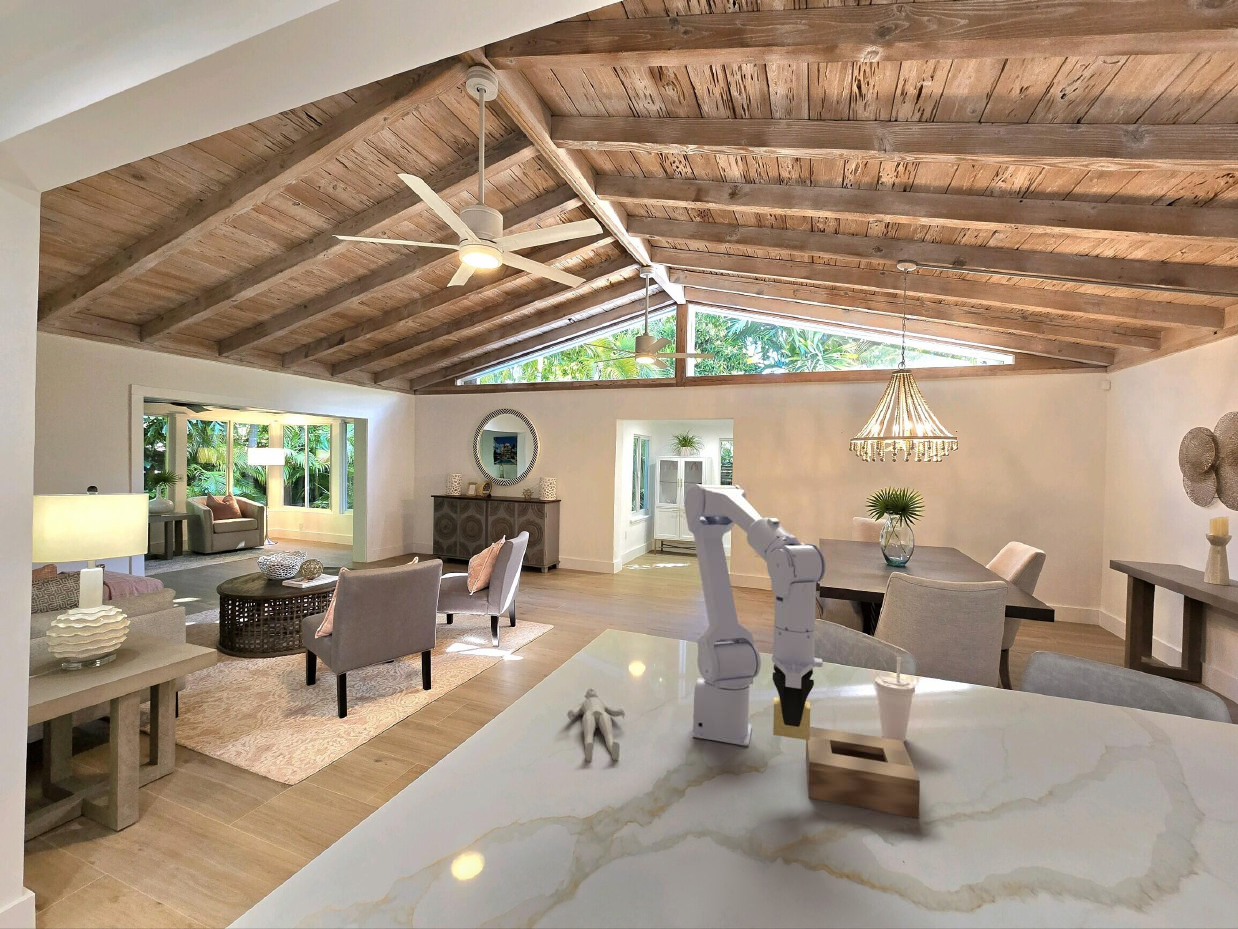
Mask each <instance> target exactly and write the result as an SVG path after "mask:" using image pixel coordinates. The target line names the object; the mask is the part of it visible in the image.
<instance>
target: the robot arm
mask: <svg viewBox="0 0 1238 929" xmlns="http://www.w3.org/2000/svg"><path fill="white" fill-rule="evenodd" d="M685 493H686V494H685V497H684V502H683V504H684V506H683V507H684V511H685V517H686V524H687V528H688V531H689V533H692V534H693V538H694V544H695V551H696V557H697V562H698V563H697V564H698V566H699V574H700V578H701V585H702V590H703V591H702V592H703V597H704V603H705V610H706V616H707V620H708V621H707V622H708V625H709V626H708V627H707V628H706V629H704V630H705V631H704V632H702V634H701V635H700V636H699V637H698V638H697V658H696V659H697V668H698V671H699V673H700V676H701V677H697V678H696V680H695V685H694V696H693V714H692V715H693V716H692V717H693V718H692V737H693V738H697V739H704V740H708V741H715V742H722V743H727V744H733V745H739V746H745V747H748V746H749V745H750V739H751V734H752V729H753V728H752V727H753V726H752V724H751V723H749V712H750V711H749V710H750V708H749V707H750V685H753V684H754V679H755V678H757V677H758V676H759V674H760V671H761V667H762V659H761V655H760V652H759V649H758V647H757V646H756V643H755V640H754V637H753V634H752V632H751V631H750V630H748V629H747V628H746V627H744V626H743V625H741V624H740V623H739V620H738V615H737V614H738V613H737V611H736V610H737V609H736V604H735V600H734V594H733V589H732V588H733V587H732V584H731V579H730V574H729V573H730V572H729V569H728V563H727V558H726V554H725V547H724V542H723V538H724V535H725V534H727V533H729V532H730V531H731V530H733V527H734V526H735V524H736V525H737V526H738V527H739V528H740V529H741V530H743V531H744V532H745V533H746V541H747V544H748V545H749V547H751V549H752V550H754V551H755V552H756V553H757V555H759V557H761V559H763V561H764V562H765V563H766V568H767V572H768V576H769V578H770V581H771V591H772V594H773V595H774V613H773V614H774V615H773V616H774V621H773V622H774V623H773V648H772V649H773V651H772V652H773V653H772V654H771V662H772V663H774V664H773V670H774V671H773V672H772V681H773V684H774V686H775V689H776V691H777V693H778V698H780V702H781V709H782V716H783V721H784V724H785V725H789V726H795V727H799V726H800V723H801V719H802V715H803V710H804V705H805V702H807V699H808V696H809V694H810V692H811V691H812V689H813V688H814V684H815V681H814V680H815V679H811V677H812V676H813V674H814V668H815V667H816V668H823V665H824V664H823V662H824V661H823V659H822V658H819V657H815V638H816V637H815V634H816V605H817V604H816V602H817V600H816V597H817V596H816V595H817V584H819V583H820V582H821V581H822V580H823V579H824V577H825V574H826V568H827V567H826V558H825V556H824V554H823V552H822V551H821V549H820V548H819V547H818V546H817V544H814V543H804V542H800V541H799V540H798V538H797V537H796V536H795V535H794V534H791V533H790V532H789V531H788V530H787V529H785V528H784V526H782V525H781V524H780V523H781V522H780V520H779V519H777V518H776V517H762V516H761V515H760V514H759V513H758V512H757V510H756V509H755V508H754V507H753V506H752V505H751V504H750V503H749V502H748V500H747V497H746V496H747V495H746V491H745V490H744V489H742V488H741V487H740V485H737V484H730V485H729V484H728V485H726V484H699V483H692V484H691V485H689V487H688V489H687V491H686V492H685ZM725 642H727V643H725ZM716 643H717V644H716Z"/></svg>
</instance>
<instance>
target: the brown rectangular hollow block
mask: <svg viewBox="0 0 1238 929" xmlns="http://www.w3.org/2000/svg"><path fill="white" fill-rule="evenodd" d="M805 764H806V767H805V768H806V782H807V795H808V796H807V797H808V798H809V799H813V800H819V801H823V802H828V803H829V802H830V803H836V804H840V805H846V806H852V807H854V808H855V807H856V808H862V809H867V810H872V811H878V812H882V813H883V812H884V813H888V814H892V815H898V816H902V817H903V816H904V817H909V818H914V819H919V818H920V795H921V794H920V792H921V789H920V788H921V787H920V786H921V785H920V783H921V781H920V778H919V776H918V773H917V771H916V769H915V767H914V764H913V762H912V760H911V758H910V755H909V752H908V750H907V749H906V746H905V744H904V742H903V741H901V740H894V739H888V738H883V737H882V736H874V735H865V734H862V733H861V734H860V733H856V732H855V733H854V732H849V731H848V732H847V731H841V730H834V729H827V728H824V727H823V728H821V727H815V726H810V740H805Z"/></svg>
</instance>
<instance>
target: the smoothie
mask: <svg viewBox="0 0 1238 929" xmlns="http://www.w3.org/2000/svg"><path fill="white" fill-rule="evenodd" d="M874 686H875V687H876V689H877V690H876V693H877V698H878V699H877V702H878V709H879V710H878V712H879V719H880V730H881V737H882V736H883V737H882V738H888V739H894V740H901V741H903V743H904V742H906V738H907V733H908V732H907V731H908V725H909V720H910V714H911V707H912V703H913V702H912V701H913V694H915V693H916V685H915V684H914V682H912V681H909V680H907V679H904V678H902V677H901V657H896V676H889V675H882V676H877V677H876V678H875V682H874Z"/></svg>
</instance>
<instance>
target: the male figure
mask: <svg viewBox="0 0 1238 929" xmlns="http://www.w3.org/2000/svg"><path fill="white" fill-rule="evenodd" d="M585 698H586V699H585ZM584 699H585V700H584V701H582V702H581V703H579V704H578V705H576V707H574V709H570V710H568V712H567V714H566V715H567V717H568V719H569V720H572V719H574V718H577V717H578V716H582V719H581V720H582V722H581V726H582V729H583V733H584V734H583V737H584V744H583V746H584V749H585V751H584V756H585V761H586V762H591V761H592V760H593V751H594V734H595V730H596V729H599V730H600V732H601V734H602V735H603V736H604V741H605V745H606V748H607V749H608V751H609V752H610V753H611V757H612V760H613V761H618V760H619V758H620V750H621V748H620V747H621V746H620V742H619V741H617V740H615V739H614V732H613V723H612V722H613V721H612V719H611V717H613V718H617V717H620V716H622V719H624V718H625V710H624V709H623V708H619V709H617V708H616V709H615V708H613V707H612V706H611V705H609V704H608V703H606V702H604V701H603V700H602V699H601V698H599V697H598V694H597V691H596V690H595V688H591V687H590V688H588V689H587V690H586V692H585V695H584Z"/></svg>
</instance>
